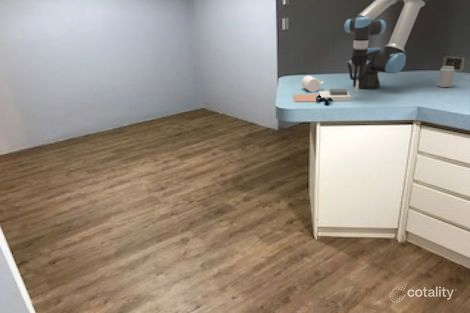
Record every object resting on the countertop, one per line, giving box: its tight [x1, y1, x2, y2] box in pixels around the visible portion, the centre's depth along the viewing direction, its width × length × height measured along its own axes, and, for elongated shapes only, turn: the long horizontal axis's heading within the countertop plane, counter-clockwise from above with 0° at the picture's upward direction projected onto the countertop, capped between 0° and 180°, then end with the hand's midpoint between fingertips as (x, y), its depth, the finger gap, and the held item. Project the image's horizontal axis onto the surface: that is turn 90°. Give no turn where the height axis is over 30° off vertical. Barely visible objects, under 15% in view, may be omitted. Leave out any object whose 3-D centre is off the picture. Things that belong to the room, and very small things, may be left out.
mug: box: [301, 75, 325, 93], centre depth 226 cm, size 12×10×8 cm
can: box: [437, 65, 456, 88], centre depth 219 cm, size 8×8×12 cm
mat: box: [293, 93, 319, 103], centre depth 210 cm, size 14×14×1 cm
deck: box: [318, 90, 352, 102], centre depth 207 cm, size 16×12×2 cm
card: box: [328, 88, 348, 95], centre depth 206 cm, size 9×6×2 cm, turn 83°
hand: (356, 92), depth 205 cm, fingers closed
